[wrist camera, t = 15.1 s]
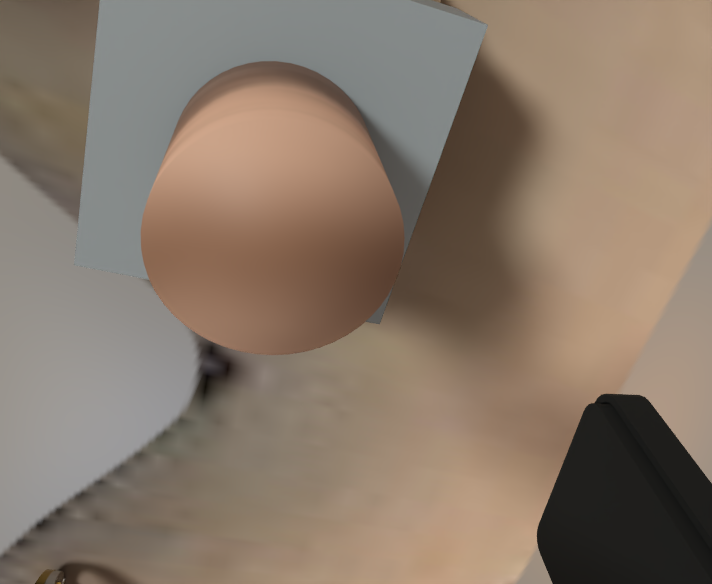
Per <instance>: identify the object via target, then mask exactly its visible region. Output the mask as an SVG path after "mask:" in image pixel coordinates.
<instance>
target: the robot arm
mask: <svg viewBox="0 0 712 584" xmlns="http://www.w3.org/2000/svg"><path fill="white" fill-rule="evenodd" d="M537 543H538V548H539V551H540V554H541V556H542V559H543V561H544V564H545V566H546V569H547V571H548V573H549V576H550V578H551V581H552V583H553V584H712V483H711V482H710V481H709V480H708V478H707V477H706V476H705V474H704V473H703V472H702V470H701V469H700V468H699V466H698V465H697V464H696V462H695V461H694V460H693V459H692V457H691V456H690V454H689V453H688V452H687V450H686V449H685V448H684V446H683V445H682V444H681V443H680V441H679V440H678V439H677V437H676V436H675V435H674V433H673V432H672V431H671V429H670V428H669V427H668V425H667V424H666V423H665V421H664V420H663V419H662V417H661V416H660V415H659V413H658V412H657V411H656V410H655V408H654V407H653V406H652V405H651V403H650V402H649V401H648V400H647V399H646V398H645V397H643V396H640V395H623V394H603V395H601V396H600V397H598V398H597V400H596V402H595V403H592V404H589V405H588V406H587V407H586V408H585V410H584V412H583V415H582V417H581V420H580V422H579V425H578V427H577V430H576V432H575V435H574V437H573V440H572V442H571V445H570V447H569V450H568V453H567V455H566V458H565V460H564V463H563V465H562V468H561V470H560V473H559V475H558V478H557V480H556V483H555V485H554V488H553V490H552V493H551V495H550V498H549V500H548V503H547V505H546V508H545V510H544V513H543V515H542V518H541V520H540V523H539V526H538V529H537Z"/></svg>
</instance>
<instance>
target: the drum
mask: <svg viewBox="0 0 712 584" xmlns="http://www.w3.org/2000/svg"><path fill="white" fill-rule="evenodd" d="M404 240H405V237H404V224H403V219H402V215H401V210H400V207H399V204H398V202H397V199H396V196H395V194H394V191H393V189H392V187H391V184H390V182H389V179H388V177H387V175H386V172H385V170H384V168H383V165H382V163H381V160H380V158H379V156H378V153H377V151H376V148H375V146H374V144H373V141H372V139H371V137H370V134H369V132H368V129H367V127H366V125H365V122H364V120H363V118H362V116H361V114H360V112H359V111H358V109H357V107H356V106H355V105H354V103H353V102H352V101H351V99H350V98H349V97H348V96H347V95H346V94H345V93H344V92H343V91H342V90H341V88H339V87H338V86H337V85H336V84H334V83H333V82H332V81H331V80H329V79H328V78H326V77H324V76H323V75H321V74H319V73H317V72H315V71H313V70H311V69H308V68H306V67H303V66H299V65H296V64H292V63H286V62H279V61H260V62H253V63H247V64H244V65H240V66H236V67H234V68H231V69H229V70H227V71H224V72H222V73H221V74H219V75H217V76H216V77H214V78H212V79H211V80H209V81H208V82H207V83H206V84H205V85H203V86H202V87H201V88H200V89H199V90H198V91H197V92H196V93H195V94H194V96H193V97H192V98H191V99H190V101H189V102H188V104H187V105H186V107H185V108H184V110H183V112H182V114H181V116H180V118H179V120H178V122H177V125H176V128H175V130H174V133H173V135H172V138H171V140H170V143H169V146H168V148H167V151H166V153H165V156H164V158H163V161H162V164H161V166H160V169H159V171H158V174H157V176H156V179H155V182H154V184H153V187H152V189H151V192H150V195H149V197H148V200H147V203H146V206H145V210H144V213H143V218H142V225H141V251H142V257H143V262H144V265H145V269H146V272H147V275H148V278H149V280H150V282H151V284H152V286H153V288H154V290H155V292H156V293H157V295H158V296H159V298H160V299H161V301H162V302H163V303H164V305H165V306H166V307H167V308H168V309H169V310H170V311H171V313H172V314H173V315H174V316H175V317H176V318H177V319H179V320H180V321H181V322H182V323H183V324H184V325H185V326H187V327H188V328H190V329H191V330H193V331H194V332H196V333H197V334H198V335H200V336H202V337H204V338H206V339H208V340H210V341H212V342H214V343H217V344H219V345H222V346H224V347H227V348H230V349H234V350H238V351H241V352H247V353H253V354H264V355H283V354H293V353H299V352H305V351H309V350H313V349H316V348H320V347H322V346H325V345H327V344H330V343H333V342H335V341H337V340H338V339H340V338H342V337H344V336H346V335H348V334H349V333H351V332H352V331H354V330H355V329H357V328H358V327H359V326H361V325H362V324H363V323H364V322H365V321H366V320H368V319H369V318H370V317H371V316H372V315H373V314H374V313H375V311H376V310H377V309H378V308H379V307H380V306H381V305H382V303H383V302H384V300H385V299H386V297H387V296H388V295H389V293H390V291H391V289H392V287H393V285H394V283H395V281H396V279H397V276H398V273H399V270H400V268H401V263H402V258H403V254H404Z"/></svg>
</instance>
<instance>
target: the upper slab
mask: <svg viewBox="0 0 712 584" xmlns="http://www.w3.org/2000/svg"><path fill="white" fill-rule="evenodd" d="M487 26H488V25H487V24H485V23H483V22H481V21H479V20H478V19H476V18H474V17H472V16H470V15H468V14H466V13H465V12H463V11H461V10H459V9H457V8H454V7H451V6H448V5H445V4H442V3H439V2H436V1H432V0H100V4H99V15H98V25H97V35H96V46H95V56H94V66H93V76H92V87H91V97H90V107H89V118H88V128H87V138H86V149H85V159H84V169H83V179H82V190H81V200H80V210H79V221H78V231H77V241H76V252H75V262H74V265H76V266H81V267H86V268H92V269H97V270H102V271H107V272H112V273H117V274H123V275H128V276H133V277H138V278H143V279H148V280H149V278H148V275H147V272H146V269H145V265H144V262H143V257H142V251H141V225H142V218H143V213H144V210H145V206H146V203H147V200H148V197H149V195H150V192H151V189H152V187H153V184H154V182H155V179H156V176H157V174H158V171H159V169H160V166H161V164H162V161H163V158H164V156H165V153H166V151H167V148H168V146H169V143H170V140H171V138H172V135H173V133H174V130H175V128H176V125H177V122H178V120H179V118H180V116H181V114H182V112H183V110H184V108H185V107H186V105H187V104H188V102H189V101H190V99H191V98H192V97H193V96H194V94H195V93H196V92H197V91H198V90H199V89H200V88H201V87H202V86H203V85H205V84H206V83H207V82H208V81H209V80H211V79H212V78H214V77H216V76H217V75H219V74H221V73H222V72H224V71H227V70H229V69H231V68H234V67H236V66H240V65H244V64H247V63H253V62H260V61H279V62H286V63H292V64H296V65H299V66H303V67H306V68H308V69H311V70H313V71H315V72H317V73H319V74H321V75H323V76H324V77H326V78H328V79H329V80H331V81H332V82H333V83H334V84H336V85H337V86H338V87H339V88H341V90H342V91H343V92H344V93H345V94H346V95H347V96H348V97H349V98H350V99H351V101H352V102H353V103H354V105H355V106H356V107H357V109H358V111H359V112H360V114H361V116H362V118H363V120H364V122H365V125H366V127H367V129H368V132H369V134H370V137H371V139H372V141H373V144H374V146H375V148H376V151H377V153H378V156H379V158H380V160H381V163H382V165H383V168H384V170H385V172H386V175H387V177H388V179H389V182H390V184H391V187H392V189H393V191H394V194H395V196H396V199H397V202H398V204H399V207H400V210H401V215H402V219H403V224H404V237H405V240H404V254H403V258H404V256H405V253H406V250H407V247H408V245H409V242H410V239H411V236H412V233H413V231H414V228H415V225H416V222H417V220H418V217H419V214H420V211H421V209H422V206H423V203H424V200H425V198H426V195H427V192H428V189H429V187H430V184H431V181H432V178H433V175H434V173H435V170H436V167H437V164H438V162H439V159H440V156H441V153H442V151H443V148H444V145H445V142H446V140H447V137H448V134H449V131H450V129H451V126H452V123H453V120H454V118H455V115H456V112H457V109H458V106H459V104H460V101H461V98H462V95H463V93H464V90H465V87H466V84H467V82H468V79H469V76H470V73H471V71H472V68H473V65H474V62H475V60H476V57H477V54H478V51H479V48H480V46H481V43H482V40H483V37H484V35H485V32H486V29H487ZM403 258H402V261H403ZM401 264H402V263H401ZM393 286H394V285H393ZM392 289H393V287H392ZM392 289H391V291H392ZM391 291H390V293H389V295H388V296H387V297H386V299H385V300H384V302H383V303H382V305H381V306H380V307H379V308H378V309H377V310H376V311H375V313H374V314H373V315H372V316H371V317H370V318H369V319H368V320H366V322H371V323H376V324H380V322H381V319H382V316H383V314H384V311H385V308H386V305H387V302H388V300H389V297H390V294H391Z"/></svg>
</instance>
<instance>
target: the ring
mask: <svg viewBox="0 0 712 584" xmlns="http://www.w3.org/2000/svg"><path fill="white" fill-rule="evenodd" d="M35 584H65V577H64V573H63V571H58V570H51V569H47V570H45V571H44V572H43V573H42V574H41V576H40V577H39V579H38V580H37V581H36V583H35Z"/></svg>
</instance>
